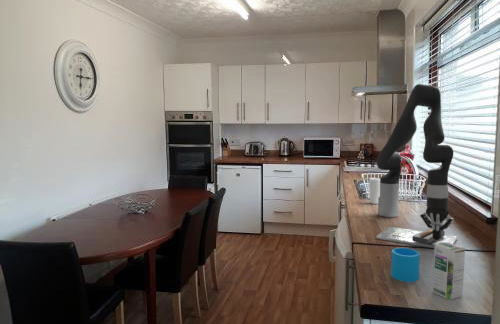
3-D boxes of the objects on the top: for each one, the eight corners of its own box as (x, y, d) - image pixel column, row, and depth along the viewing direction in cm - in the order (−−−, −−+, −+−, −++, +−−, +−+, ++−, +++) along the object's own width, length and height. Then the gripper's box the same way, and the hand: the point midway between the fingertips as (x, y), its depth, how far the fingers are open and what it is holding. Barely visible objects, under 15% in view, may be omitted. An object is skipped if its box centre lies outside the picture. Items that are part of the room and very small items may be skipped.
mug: (422, 282, 118) (423, 257, 117) (394, 281, 119) (394, 256, 118) (411, 268, 130) (412, 244, 129) (386, 266, 131) (387, 243, 130)
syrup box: (431, 292, 111) (433, 243, 110) (445, 288, 114) (447, 240, 112) (449, 300, 106) (451, 249, 105) (463, 296, 109) (466, 246, 107)
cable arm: (432, 231, 166) (433, 222, 166) (447, 234, 162) (447, 225, 162) (412, 240, 154) (412, 231, 153) (427, 244, 149) (427, 234, 149)
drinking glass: (380, 202, 232) (381, 178, 230) (380, 205, 226) (381, 179, 224) (369, 202, 234) (369, 177, 233) (368, 204, 228) (369, 179, 226)
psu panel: (376, 238, 162) (376, 235, 162) (388, 228, 177) (388, 226, 177) (450, 250, 146) (450, 247, 146) (457, 238, 161) (457, 236, 160)
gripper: (459, 196, 147) (458, 241, 149) (425, 193, 158) (425, 234, 159) (450, 199, 143) (449, 244, 144) (416, 195, 153) (415, 237, 154)
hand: (436, 239), depth 152 cm, fingers closed
